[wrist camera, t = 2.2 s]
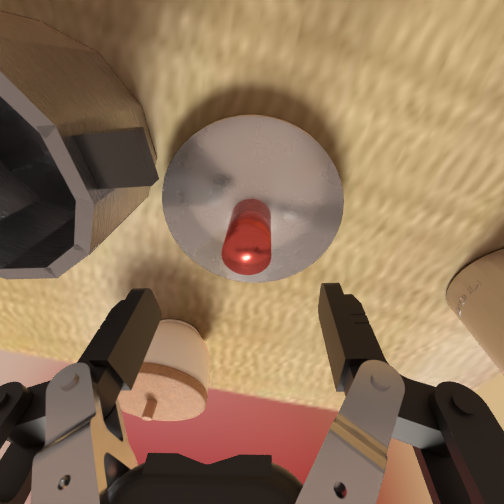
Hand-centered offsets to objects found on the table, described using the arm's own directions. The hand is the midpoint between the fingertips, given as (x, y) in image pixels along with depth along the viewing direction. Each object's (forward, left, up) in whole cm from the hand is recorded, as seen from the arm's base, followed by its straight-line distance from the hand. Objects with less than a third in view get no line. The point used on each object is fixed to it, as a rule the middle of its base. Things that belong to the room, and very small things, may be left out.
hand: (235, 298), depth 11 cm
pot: (+13, -6, -10) cm, 17 cm away
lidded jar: (+11, +17, -10) cm, 23 cm away
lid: (0, 0, -10) cm, 10 cm away
